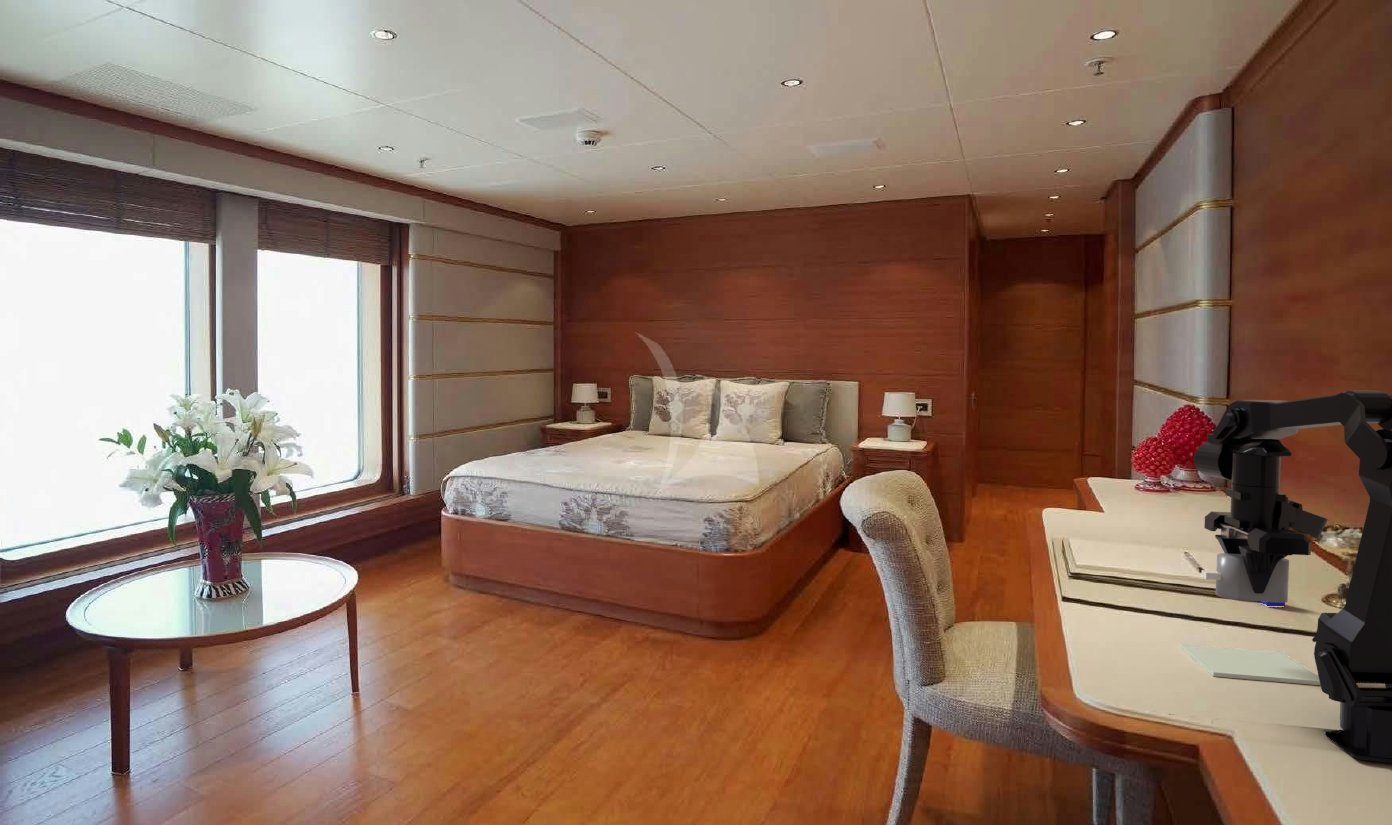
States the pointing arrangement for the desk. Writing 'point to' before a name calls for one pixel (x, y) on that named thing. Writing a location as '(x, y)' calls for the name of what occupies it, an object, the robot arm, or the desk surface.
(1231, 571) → the rounded connector
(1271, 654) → the sage pad
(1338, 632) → the robot arm
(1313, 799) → the desk surface
